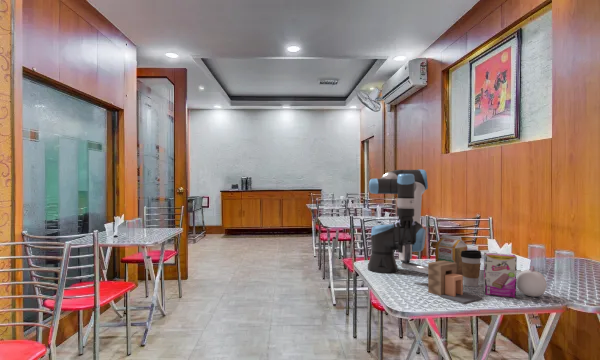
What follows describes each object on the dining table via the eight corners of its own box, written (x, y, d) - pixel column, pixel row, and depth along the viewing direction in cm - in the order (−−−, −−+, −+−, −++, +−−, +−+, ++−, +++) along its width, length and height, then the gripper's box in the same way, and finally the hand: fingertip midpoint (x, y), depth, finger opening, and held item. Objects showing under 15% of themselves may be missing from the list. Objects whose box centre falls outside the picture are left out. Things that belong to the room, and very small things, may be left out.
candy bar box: (485, 295, 145) (485, 254, 146) (483, 292, 150) (483, 252, 150) (517, 298, 142) (517, 256, 142) (514, 294, 146) (514, 253, 147)
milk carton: (467, 275, 179) (467, 236, 179) (454, 277, 173) (454, 237, 173) (448, 270, 188) (448, 233, 188) (435, 273, 182) (435, 235, 182)
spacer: (445, 294, 144) (445, 275, 145) (453, 291, 147) (453, 273, 148) (453, 296, 141) (454, 277, 141) (462, 294, 144) (462, 275, 144)
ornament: (547, 301, 138) (547, 269, 138) (515, 297, 144) (515, 266, 144) (546, 294, 147) (546, 265, 147) (516, 290, 152) (516, 262, 152)
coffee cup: (484, 288, 156) (484, 252, 156) (462, 286, 157) (463, 252, 158) (478, 283, 164) (478, 249, 164) (458, 281, 166) (458, 248, 166)
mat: (440, 296, 143) (440, 295, 143) (459, 292, 149) (459, 290, 149) (463, 304, 134) (463, 302, 134) (482, 298, 140) (482, 297, 140)
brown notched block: (428, 292, 149) (428, 262, 149) (443, 288, 154) (443, 260, 154) (440, 296, 144) (440, 265, 144) (456, 292, 149) (456, 263, 149)
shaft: (398, 267, 166) (399, 243, 166) (405, 266, 168) (405, 243, 168) (438, 277, 148) (438, 250, 148) (444, 276, 150) (444, 250, 151)
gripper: (398, 208, 158) (398, 262, 158) (424, 207, 167) (424, 258, 167) (386, 207, 165) (385, 259, 164) (411, 206, 174) (411, 256, 173)
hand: (405, 259), depth 166 cm, fingers closed on shaft, 4 cm apart
